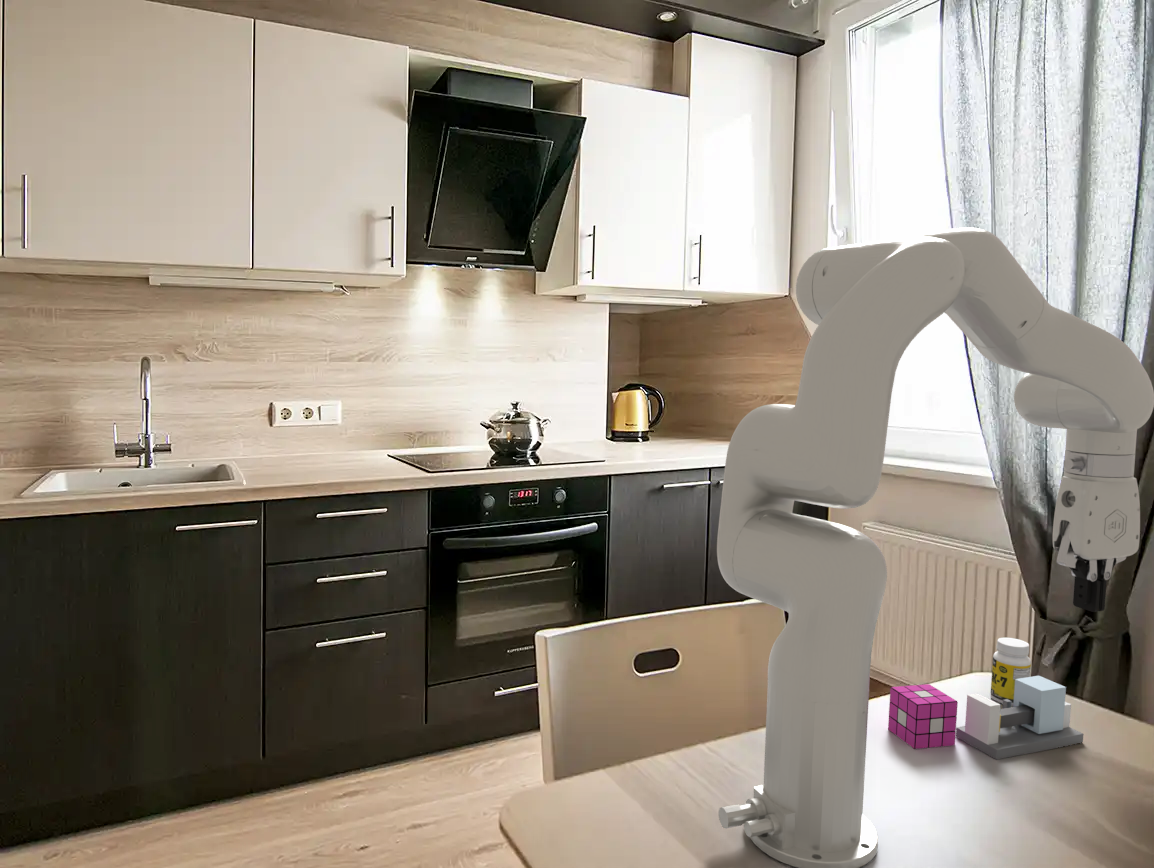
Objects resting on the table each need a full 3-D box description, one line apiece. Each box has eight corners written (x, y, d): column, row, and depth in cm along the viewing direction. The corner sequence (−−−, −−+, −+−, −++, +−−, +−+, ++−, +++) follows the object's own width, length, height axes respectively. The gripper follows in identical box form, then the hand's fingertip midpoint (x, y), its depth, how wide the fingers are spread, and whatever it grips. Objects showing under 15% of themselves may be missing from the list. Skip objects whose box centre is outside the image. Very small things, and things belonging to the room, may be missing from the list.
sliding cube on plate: (996, 759, 102) (999, 710, 102) (955, 736, 108) (958, 690, 108) (1082, 742, 107) (1086, 696, 107) (1039, 721, 113) (1042, 677, 113)
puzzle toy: (955, 745, 106) (958, 701, 105) (914, 749, 105) (917, 704, 104) (926, 726, 112) (929, 683, 111) (887, 729, 110) (889, 686, 110)
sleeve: (1038, 734, 106) (1041, 691, 106) (1012, 720, 110) (1015, 679, 109) (1062, 729, 107) (1066, 687, 107) (1035, 716, 111) (1038, 675, 111)
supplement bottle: (983, 693, 122) (987, 636, 122) (1014, 693, 123) (1018, 635, 122) (1003, 707, 118) (1007, 648, 117) (1035, 706, 118) (1040, 647, 117)
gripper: (1081, 473, 102) (1070, 623, 104) (1170, 467, 107) (1158, 611, 109) (1028, 464, 109) (1019, 605, 111) (1114, 460, 114) (1104, 594, 116)
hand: (1088, 608), depth 110 cm, fingers closed
